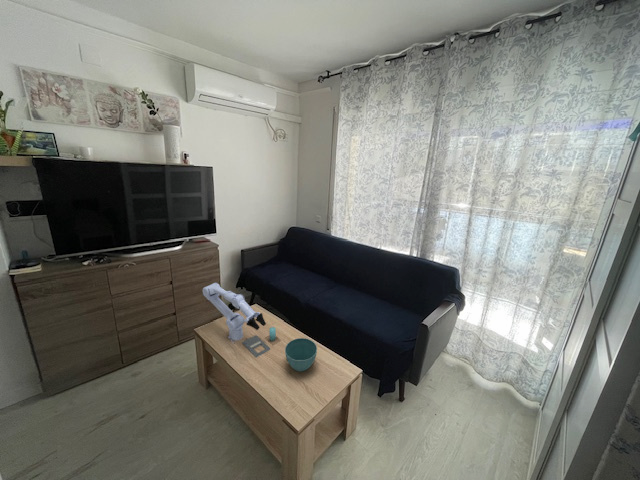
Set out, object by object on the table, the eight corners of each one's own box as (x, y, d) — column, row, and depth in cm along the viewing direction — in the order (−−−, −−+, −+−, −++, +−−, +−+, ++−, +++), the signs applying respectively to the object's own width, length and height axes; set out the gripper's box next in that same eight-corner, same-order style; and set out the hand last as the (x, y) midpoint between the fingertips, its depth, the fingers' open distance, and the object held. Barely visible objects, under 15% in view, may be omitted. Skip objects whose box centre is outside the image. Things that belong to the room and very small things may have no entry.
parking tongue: (264, 339, 164) (264, 338, 164) (272, 335, 169) (272, 333, 169) (272, 347, 158) (272, 345, 157) (281, 342, 162) (281, 340, 162)
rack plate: (242, 345, 159) (242, 341, 158) (256, 338, 166) (256, 334, 165) (256, 359, 147) (256, 355, 147) (270, 351, 154) (270, 347, 153)
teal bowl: (310, 382, 133) (310, 364, 129) (279, 373, 138) (279, 355, 134) (320, 358, 150) (320, 341, 146) (292, 351, 155) (292, 335, 151)
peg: (268, 339, 163) (268, 328, 161) (273, 336, 166) (273, 326, 163) (271, 342, 160) (271, 331, 158) (277, 339, 163) (276, 329, 161)
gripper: (244, 309, 145) (259, 326, 142) (257, 303, 159) (271, 318, 156) (237, 317, 146) (252, 334, 143) (250, 311, 160) (264, 326, 157)
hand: (261, 326), depth 150 cm, fingers open, 7 cm apart
